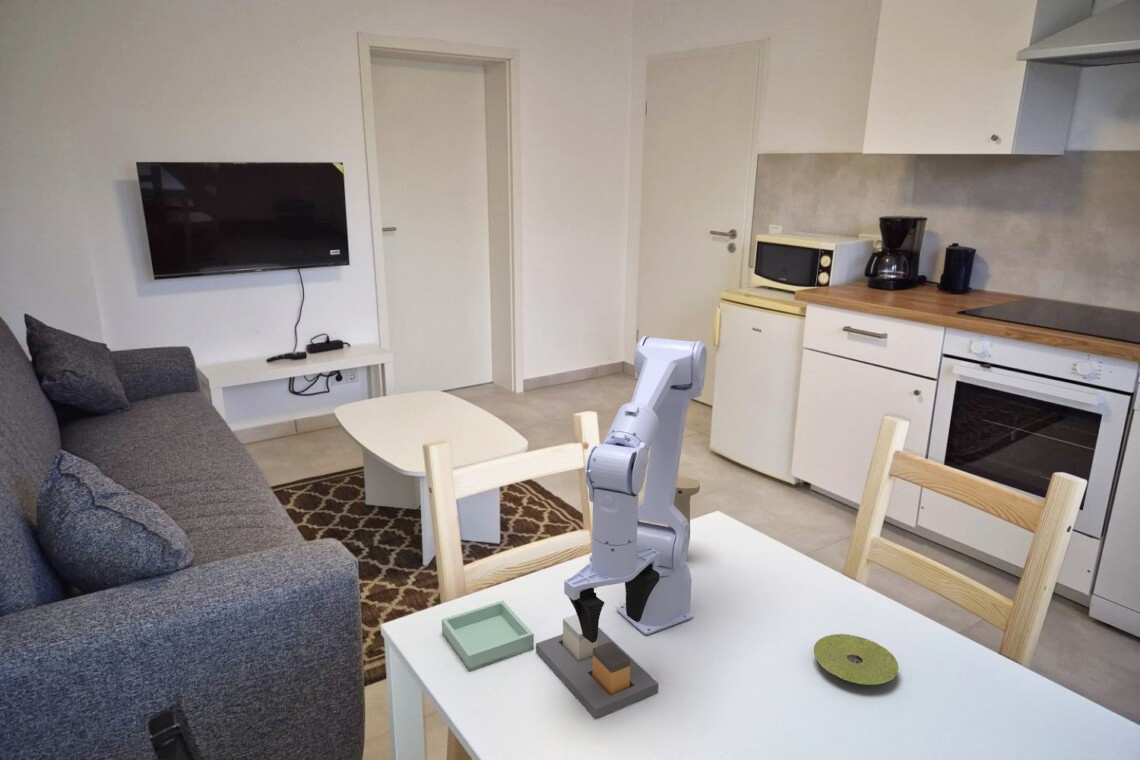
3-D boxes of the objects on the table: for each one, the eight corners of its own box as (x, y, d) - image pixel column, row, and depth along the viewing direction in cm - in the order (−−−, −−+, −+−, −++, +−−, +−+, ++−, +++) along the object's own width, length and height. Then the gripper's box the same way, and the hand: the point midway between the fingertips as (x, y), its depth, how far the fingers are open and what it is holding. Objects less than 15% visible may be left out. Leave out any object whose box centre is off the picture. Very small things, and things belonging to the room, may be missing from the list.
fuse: (580, 645, 111) (580, 612, 109) (596, 661, 107) (597, 628, 106) (562, 651, 109) (563, 618, 108) (579, 668, 106) (579, 634, 104)
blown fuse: (610, 675, 104) (611, 641, 103) (629, 694, 100) (630, 659, 99) (592, 682, 103) (592, 648, 101) (610, 702, 99) (611, 666, 97)
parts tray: (503, 614, 118) (502, 600, 117) (533, 648, 110) (533, 634, 109) (442, 633, 113) (441, 619, 112) (469, 671, 105) (468, 656, 104)
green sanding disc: (835, 635, 113) (836, 624, 113) (910, 669, 106) (912, 657, 105) (797, 668, 106) (798, 656, 105) (875, 708, 98) (877, 695, 98)
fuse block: (593, 631, 114) (594, 623, 113) (658, 692, 101) (658, 683, 100) (536, 652, 109) (536, 643, 108) (595, 719, 96) (595, 709, 95)
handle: (694, 567, 132) (699, 489, 128) (658, 563, 134) (661, 486, 130) (696, 554, 137) (700, 478, 133) (661, 550, 138) (664, 475, 134)
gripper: (635, 509, 103) (632, 596, 106) (549, 538, 94) (549, 633, 98) (672, 528, 97) (667, 620, 101) (584, 561, 89) (583, 660, 92)
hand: (612, 628), depth 99 cm, fingers open, 7 cm apart
